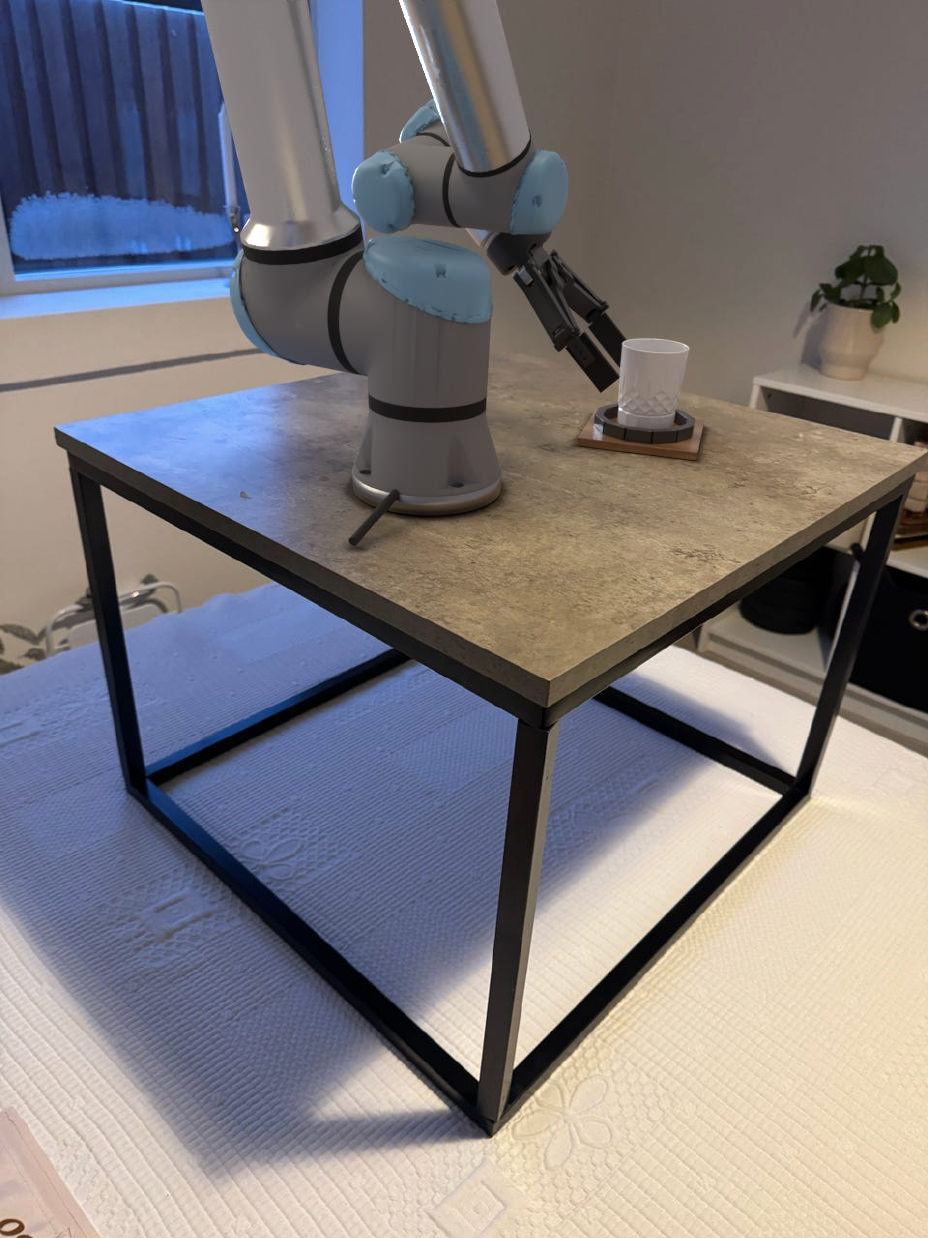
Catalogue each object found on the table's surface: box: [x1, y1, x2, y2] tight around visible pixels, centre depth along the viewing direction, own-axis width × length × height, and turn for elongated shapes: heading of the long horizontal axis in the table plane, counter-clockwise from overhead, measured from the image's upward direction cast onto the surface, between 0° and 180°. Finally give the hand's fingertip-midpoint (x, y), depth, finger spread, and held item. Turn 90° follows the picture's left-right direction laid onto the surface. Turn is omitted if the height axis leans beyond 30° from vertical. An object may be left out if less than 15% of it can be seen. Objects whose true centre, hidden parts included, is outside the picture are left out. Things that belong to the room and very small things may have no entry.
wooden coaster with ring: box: [576, 402, 705, 461], centre depth 106 cm, size 14×14×2 cm
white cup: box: [617, 337, 691, 429], centre depth 104 cm, size 8×8×10 cm
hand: (620, 372), depth 104 cm, fingers open, 13 cm apart
